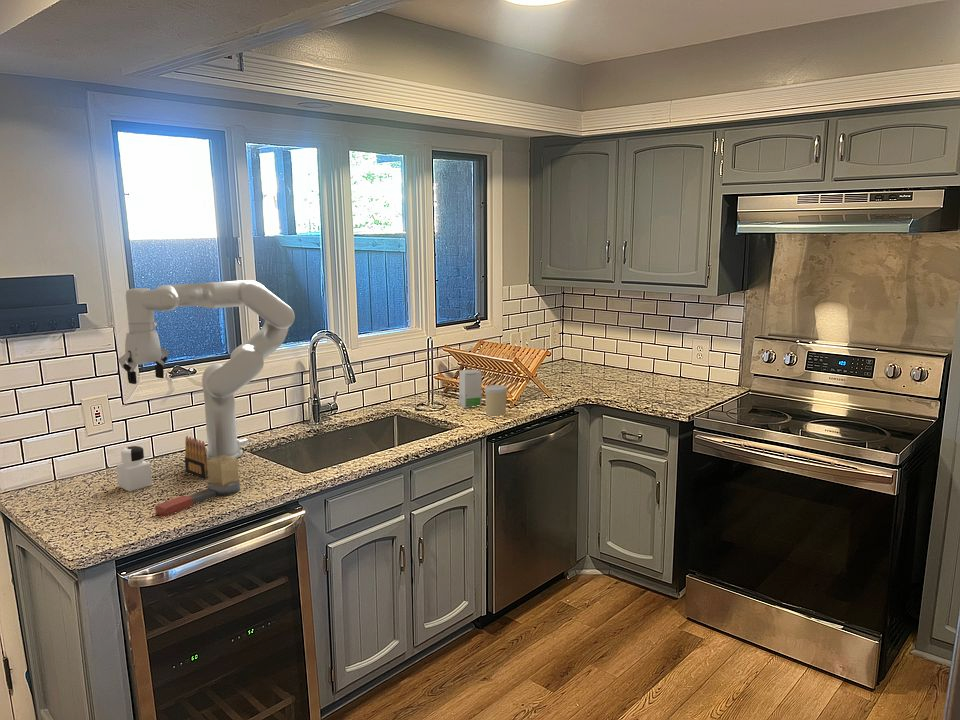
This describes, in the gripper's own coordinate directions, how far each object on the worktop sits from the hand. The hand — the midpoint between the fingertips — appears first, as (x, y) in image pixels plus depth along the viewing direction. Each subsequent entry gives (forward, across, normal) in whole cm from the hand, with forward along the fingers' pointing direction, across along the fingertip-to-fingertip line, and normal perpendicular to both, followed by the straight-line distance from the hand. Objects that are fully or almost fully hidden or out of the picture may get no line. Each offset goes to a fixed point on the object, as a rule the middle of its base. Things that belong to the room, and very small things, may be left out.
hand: (146, 380), depth 232 cm
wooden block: (+26, +4, +38) cm, 46 cm away
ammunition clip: (+29, -1, +20) cm, 35 cm away
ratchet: (+28, +12, +38) cm, 49 cm away
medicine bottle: (+28, +15, +12) cm, 34 cm away
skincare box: (+28, -118, +50) cm, 131 cm away
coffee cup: (+28, -110, +67) cm, 132 cm away
